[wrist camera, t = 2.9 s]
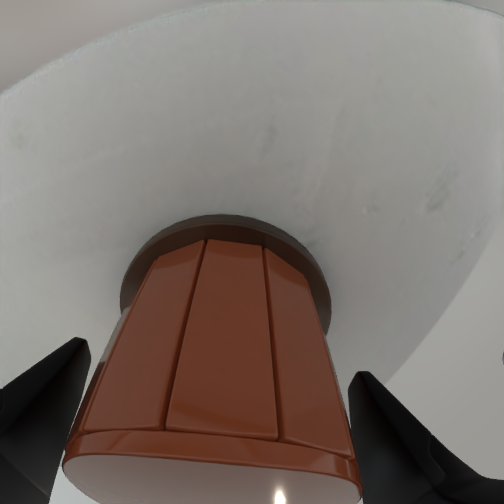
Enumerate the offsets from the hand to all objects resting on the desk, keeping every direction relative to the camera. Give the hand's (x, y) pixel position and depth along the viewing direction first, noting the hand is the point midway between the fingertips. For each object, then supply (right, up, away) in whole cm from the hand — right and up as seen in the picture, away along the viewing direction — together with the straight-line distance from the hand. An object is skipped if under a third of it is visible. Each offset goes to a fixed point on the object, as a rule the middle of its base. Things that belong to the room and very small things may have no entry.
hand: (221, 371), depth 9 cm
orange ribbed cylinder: (0, +1, +2) cm, 2 cm away
